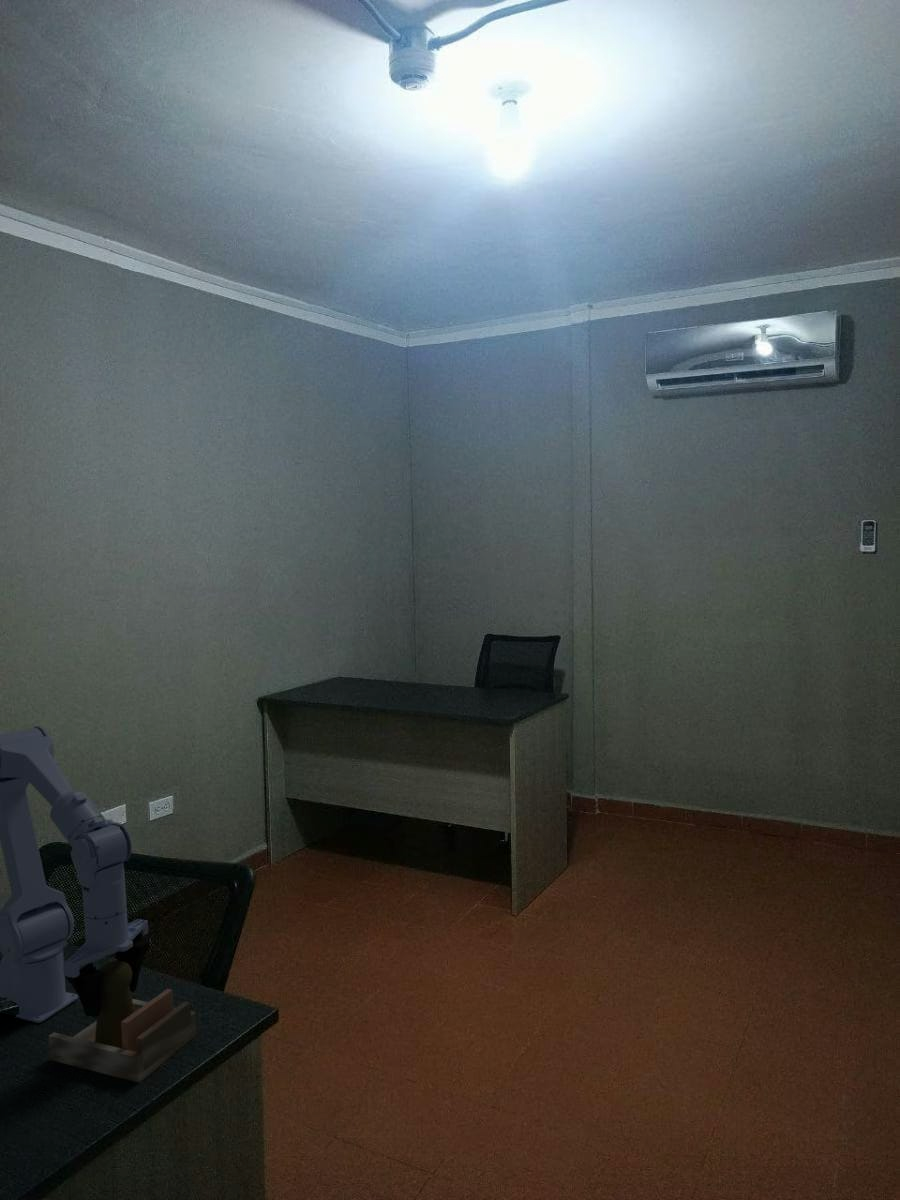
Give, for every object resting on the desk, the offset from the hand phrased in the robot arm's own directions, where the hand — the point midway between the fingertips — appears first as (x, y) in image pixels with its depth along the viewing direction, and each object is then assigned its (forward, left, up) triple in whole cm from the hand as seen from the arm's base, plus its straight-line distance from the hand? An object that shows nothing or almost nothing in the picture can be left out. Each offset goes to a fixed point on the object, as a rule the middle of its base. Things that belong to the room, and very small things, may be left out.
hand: (111, 1002), depth 127 cm
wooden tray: (+2, 0, -6) cm, 7 cm away
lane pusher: (+7, 0, -5) cm, 8 cm away
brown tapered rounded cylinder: (+1, 0, -6) cm, 6 cm away
